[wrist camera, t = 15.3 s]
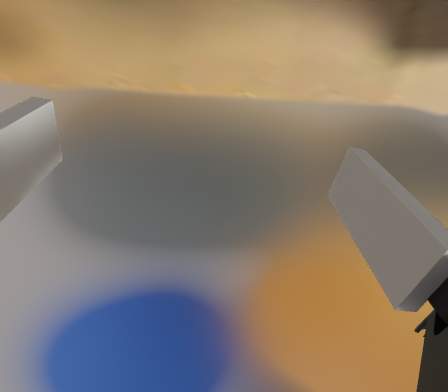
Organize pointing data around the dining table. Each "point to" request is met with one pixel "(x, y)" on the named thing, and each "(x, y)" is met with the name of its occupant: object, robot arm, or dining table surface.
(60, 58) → the dining table surface
